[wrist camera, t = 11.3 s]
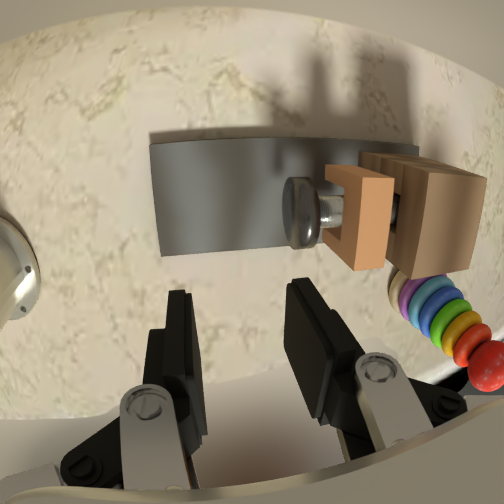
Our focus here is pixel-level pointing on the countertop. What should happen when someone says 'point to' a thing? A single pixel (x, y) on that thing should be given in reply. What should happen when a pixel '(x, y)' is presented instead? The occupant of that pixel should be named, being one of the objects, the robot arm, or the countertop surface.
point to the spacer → (361, 216)
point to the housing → (313, 166)
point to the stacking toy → (450, 326)
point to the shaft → (313, 212)
